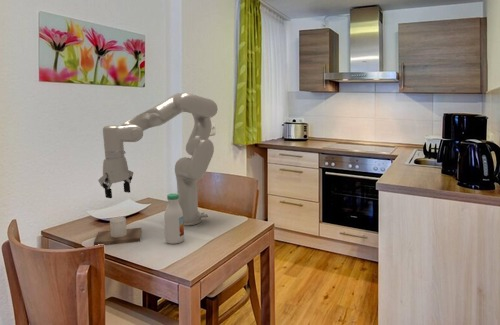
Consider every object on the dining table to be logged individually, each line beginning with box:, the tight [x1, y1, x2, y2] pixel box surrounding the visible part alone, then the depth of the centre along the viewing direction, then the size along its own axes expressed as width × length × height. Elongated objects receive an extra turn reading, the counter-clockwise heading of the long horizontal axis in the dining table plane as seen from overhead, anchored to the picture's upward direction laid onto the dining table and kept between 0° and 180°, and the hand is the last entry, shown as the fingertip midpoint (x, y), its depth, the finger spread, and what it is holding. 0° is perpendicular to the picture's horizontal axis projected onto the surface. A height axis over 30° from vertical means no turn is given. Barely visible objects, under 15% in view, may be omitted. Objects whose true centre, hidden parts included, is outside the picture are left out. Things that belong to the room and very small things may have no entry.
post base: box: [93, 227, 142, 246], centre depth 150 cm, size 18×13×6 cm
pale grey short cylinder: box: [109, 216, 128, 238], centre depth 150 cm, size 6×6×7 cm
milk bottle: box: [163, 193, 185, 245], centre depth 146 cm, size 8×8×20 cm
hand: (118, 194), depth 149 cm, fingers open, 9 cm apart
